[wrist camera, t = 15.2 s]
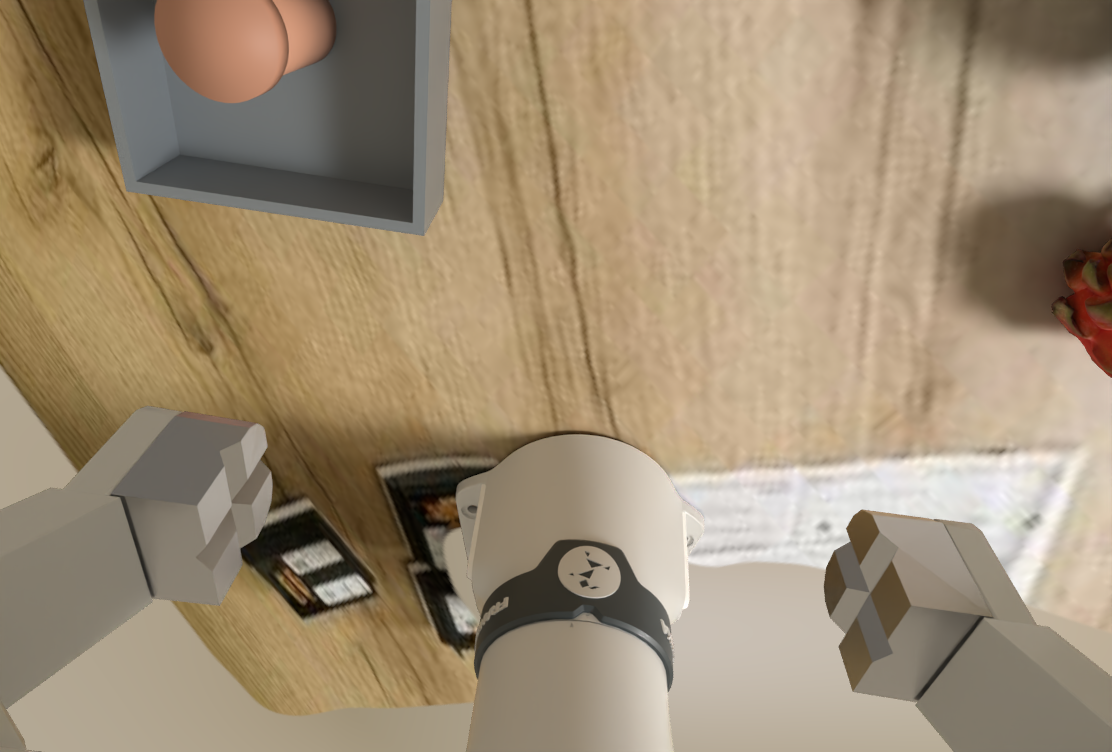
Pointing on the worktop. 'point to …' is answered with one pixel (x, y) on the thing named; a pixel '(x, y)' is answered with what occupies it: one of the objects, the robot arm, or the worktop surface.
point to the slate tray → (291, 119)
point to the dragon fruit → (1089, 303)
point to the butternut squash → (242, 42)
